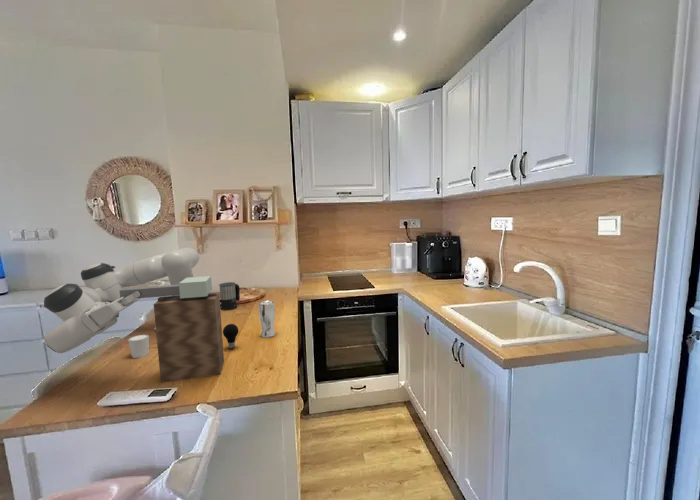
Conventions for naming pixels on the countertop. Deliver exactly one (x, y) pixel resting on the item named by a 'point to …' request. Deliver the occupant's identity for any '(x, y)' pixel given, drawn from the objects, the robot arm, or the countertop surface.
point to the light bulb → (230, 334)
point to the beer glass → (267, 318)
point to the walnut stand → (189, 336)
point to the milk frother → (229, 295)
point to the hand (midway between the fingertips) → (142, 291)
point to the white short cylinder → (139, 345)
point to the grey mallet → (175, 289)
